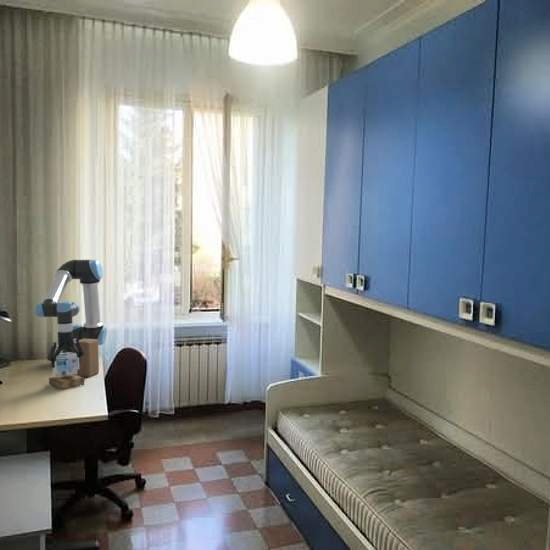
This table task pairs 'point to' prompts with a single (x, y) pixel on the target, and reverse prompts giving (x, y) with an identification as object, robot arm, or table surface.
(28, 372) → the table surface
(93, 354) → the wooden block
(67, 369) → the light bulb box
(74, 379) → the brown open tray
